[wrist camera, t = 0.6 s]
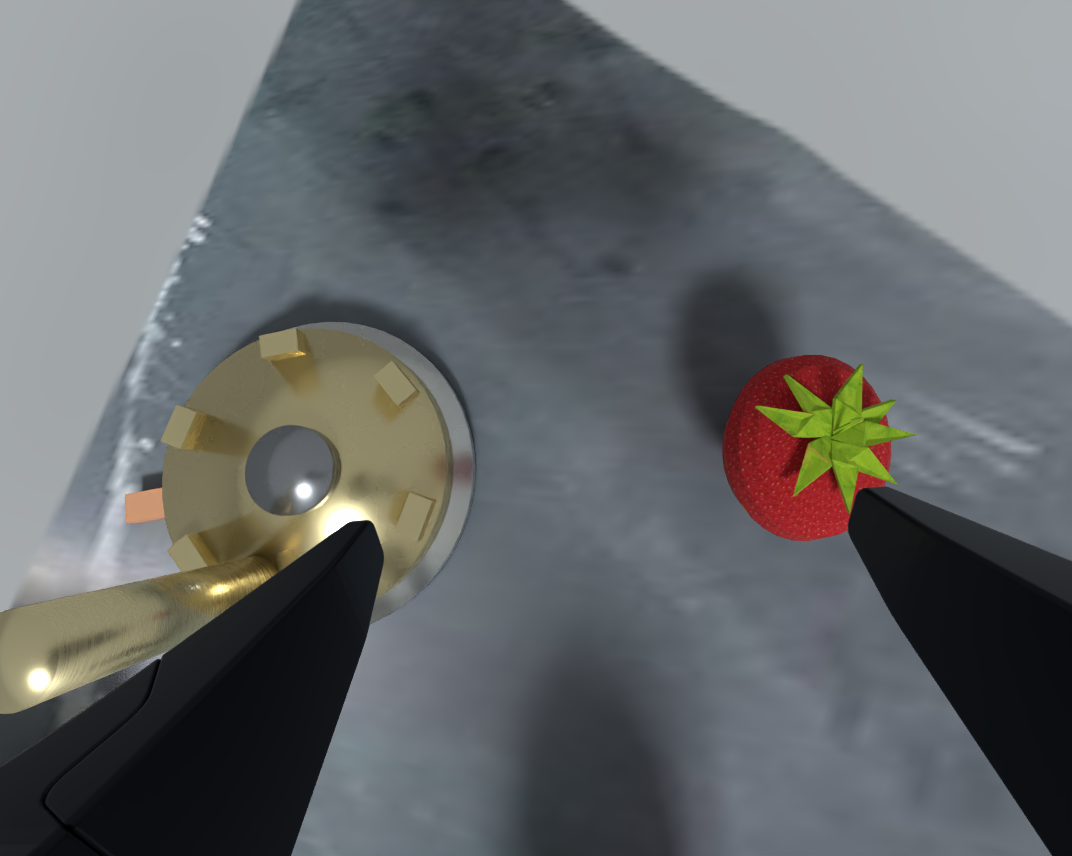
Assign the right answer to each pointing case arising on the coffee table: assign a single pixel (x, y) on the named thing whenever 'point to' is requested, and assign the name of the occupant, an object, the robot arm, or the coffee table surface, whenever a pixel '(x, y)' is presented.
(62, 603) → the crank disc
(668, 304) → the coffee table surface
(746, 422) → the strawberry
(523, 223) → the coffee table surface
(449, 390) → the base plate
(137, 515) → the tab
